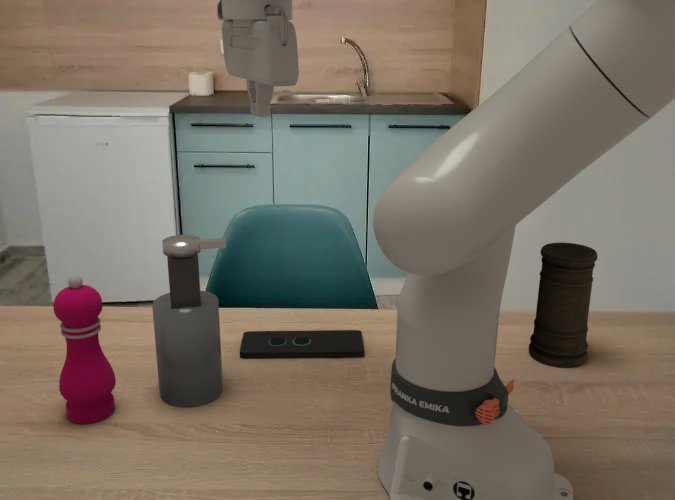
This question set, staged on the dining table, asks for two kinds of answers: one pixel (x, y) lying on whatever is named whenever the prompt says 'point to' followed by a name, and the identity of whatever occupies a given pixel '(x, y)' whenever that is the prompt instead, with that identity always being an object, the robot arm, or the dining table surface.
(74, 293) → the pepper mill
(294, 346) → the smart home device
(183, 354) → the dispenser
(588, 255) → the container
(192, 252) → the pump head
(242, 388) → the dining table surface
